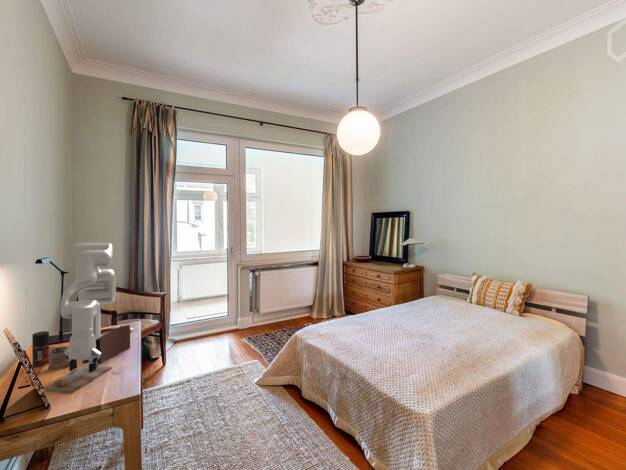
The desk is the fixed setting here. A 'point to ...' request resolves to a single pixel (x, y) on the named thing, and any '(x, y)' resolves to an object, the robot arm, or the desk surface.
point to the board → (80, 381)
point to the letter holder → (113, 343)
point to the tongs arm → (74, 376)
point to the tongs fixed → (69, 374)
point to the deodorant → (40, 348)
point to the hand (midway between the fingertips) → (82, 370)
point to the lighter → (58, 358)
